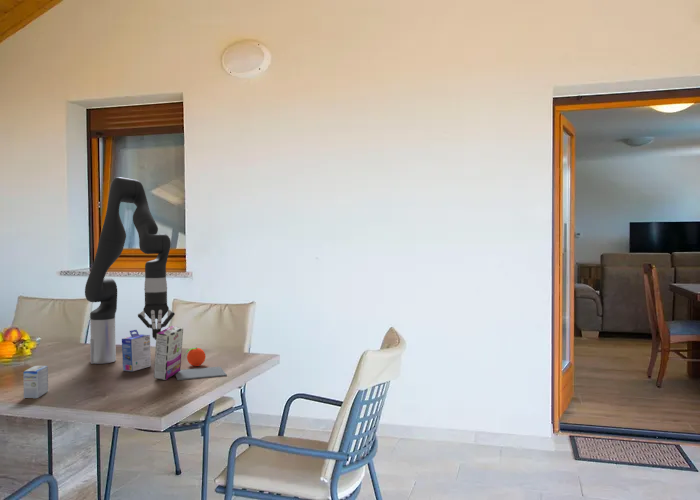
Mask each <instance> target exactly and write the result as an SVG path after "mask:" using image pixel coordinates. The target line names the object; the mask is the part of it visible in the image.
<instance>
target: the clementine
mask: <svg viewBox="0 0 700 500" xmlns="http://www.w3.org/2000/svg"><path fill="white" fill-rule="evenodd" d="M185 355H186V354H184V356H185ZM186 360H187V363H189V364H190V365H191V366H193V367H199V366H201V365H203V364H204V362H205V360H206V353H205V351H204V350H203V349H202V348H199V347H192V348H189V349H187V356H186Z"/></svg>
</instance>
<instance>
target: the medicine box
mask: <svg viewBox="0 0 700 500" xmlns="http://www.w3.org/2000/svg"><path fill="white" fill-rule="evenodd" d="M48 392H49V366H48V365H34V366H31V367H30V368H27V369H26V370H24V371H23V399H25V398H33V399H39V398H40V397H42V396H44V395H45V394H46V393H48Z"/></svg>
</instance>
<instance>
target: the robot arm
mask: <svg viewBox="0 0 700 500" xmlns="http://www.w3.org/2000/svg"><path fill="white" fill-rule="evenodd" d="M107 199H108V202H107V206H106V212H105V216H104V221H103V224H102V228H101V231H100V236H99V239H98V244H97V249H96V252H95V253H96V254H95V257H94V260H93V262H92V267H91V269H90V272H89V273H88V277H87V280H86V282H85V283H86V284H85V287H84V296H85V298H86V300H87V301H88V302H89V303H100V304H99V305H98V306H97V307H96V308H95V309H94V310H92V311H91V312H90V314H89V319H90V320H89V321H90V322H89V323H90V325H89V326H90V327H89V328H90V331H89V332H90V334H89V335H90V338H89V339H90V342H89V343H90V346H89V347H90V352H89V353H90V364H92V365H93V364H96V365H97V364H98V365H99V364H100V365H101V364H103V365H104V364H109V363H114V362H115V361H117V354H116V353H117V351H116V350H117V349H116V346H117V345H116V341H117V340H116V313H117V309H118V308H117V307H118V305H117V304H118V286H117V282H116V280H115V279H114V278H111V277H105V276H106V275H107V272H108V270H109V269H110V268H111V266H112V265H114V263H115V262H116V260H118V258H119V257H120V256H121V255H122V252H123V250H124V247H125V245H126V241H127V239H126V238H127V233H126V229H125V227H124V225H123V222H122V219H121V216H120V208H121V207H120V206H121V203H124V204H125V203H126V204H134V205H135V206H136V207H135V210H134V212H133V215H132V223H133V226H134V227H135V229H136V231H137V235H138V243H139V250H140V251H141V252H142V253H143V254H147V255H153V254H154V255H155V254H157V256H156V258H155V259H152V260H149V261H145V263H144V277H145V278H144V288H143V289H144V307H143V310H142V311H141V312H139V313H138V314H137V318H138V319H139V320H140V321H141V322H142V323H143V324H144V325H145V326H146V328H148V329H151V334H152V338H153V339H154V340H155V341H156V334H157V333H159V332H161V331H162V329H163V328H164V327H166V326H168V324H169V323H170V321H171V320H172V319H173V318H174V316H175V312H174V311H172V310H170V308H169V306H168V283H167V262H168V257H169V254H170V251H171V247H172V246H171V245H172V243H171V238H170V237H169V235H167V234H166V233H159V228H158V224H157V223H156V220H155V219H154V217H153V215H152V213H151V211H150V207H149V203H148V199H147V195H146V191H145V188H144V185H143V183H142V182H141V181H140V180H137V179H133V178H128V177H120V176H116V177H114V178H113V180H112V183H111V185H110V189H109V193H108V198H107ZM145 314H146V315H145ZM165 316H167V317H166V318H165V320H164V321H163V322H162V320H163V318H164V317H165ZM146 317H148V318H149V319H150V320H151V323H149V321H148V320H147V319H146Z"/></svg>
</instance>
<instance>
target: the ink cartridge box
mask: <svg viewBox="0 0 700 500" xmlns="http://www.w3.org/2000/svg"><path fill="white" fill-rule="evenodd" d="M129 334H130V336H128V337H127V336H126V337H124V338H121V347H122V348H121V351H122V354H121V355H122V370H123V371H125V372H136V371H139V370H143V369H145V368H146V369H147V368H149V367H152V359H151V357H152V355H151V354H152V352H151V335H150V334H139V332H138V330H137V329H132V330H129Z"/></svg>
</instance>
